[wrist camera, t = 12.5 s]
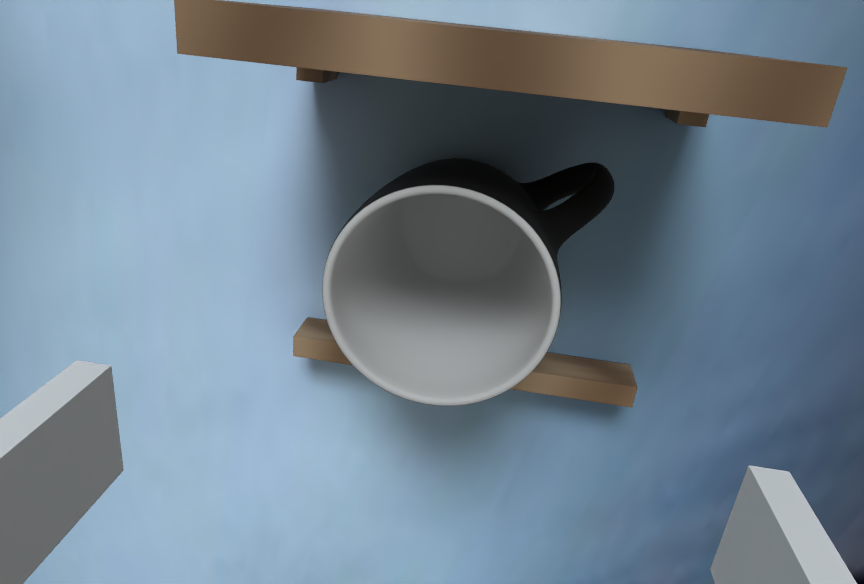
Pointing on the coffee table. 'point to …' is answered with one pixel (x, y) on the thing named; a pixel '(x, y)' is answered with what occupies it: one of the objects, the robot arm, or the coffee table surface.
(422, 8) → the coffee table surface
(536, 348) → the mug
